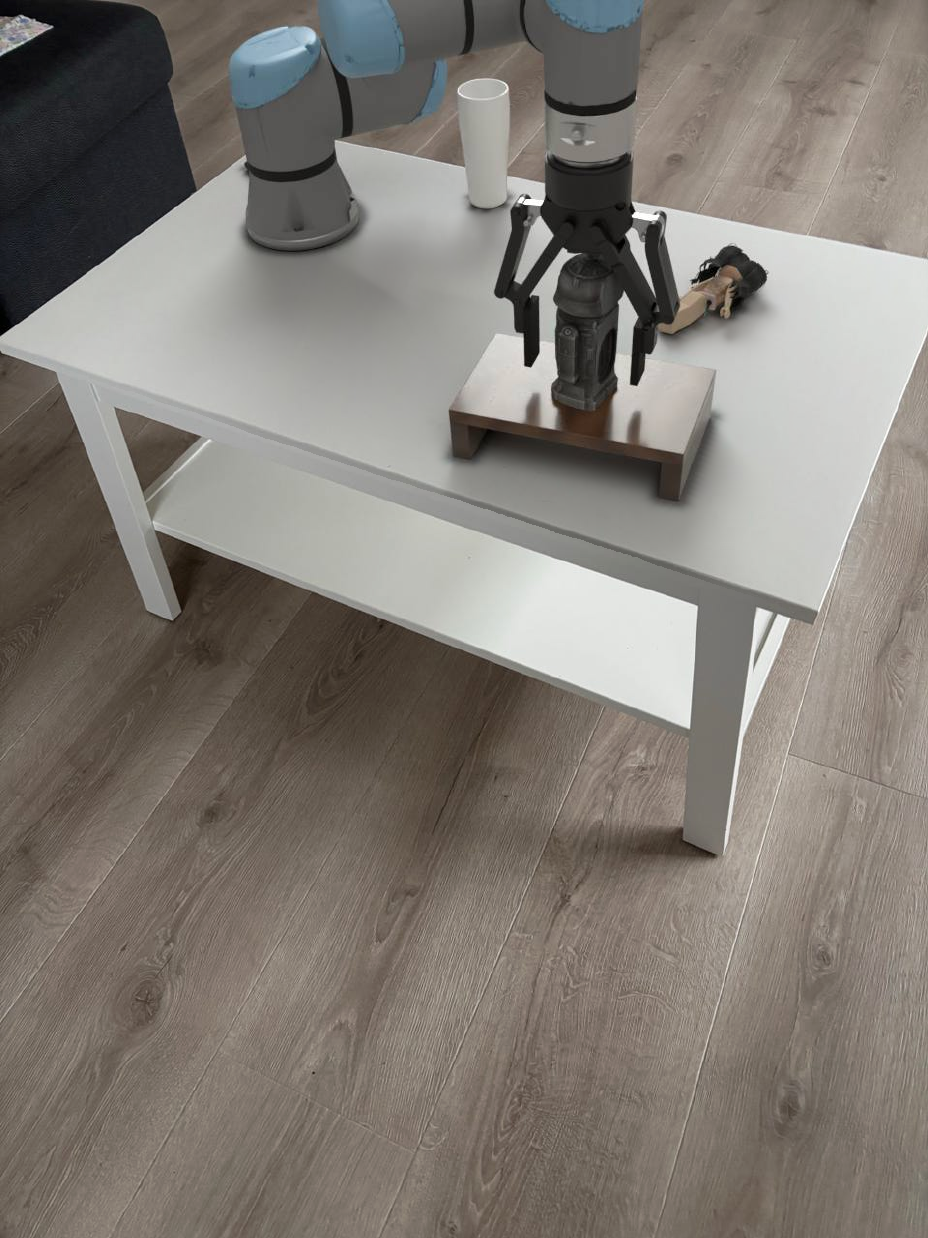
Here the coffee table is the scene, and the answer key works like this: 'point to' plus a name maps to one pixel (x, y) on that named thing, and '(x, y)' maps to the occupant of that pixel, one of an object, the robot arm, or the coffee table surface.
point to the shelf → (623, 423)
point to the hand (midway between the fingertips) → (583, 368)
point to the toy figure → (719, 287)
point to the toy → (586, 332)
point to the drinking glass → (485, 139)
